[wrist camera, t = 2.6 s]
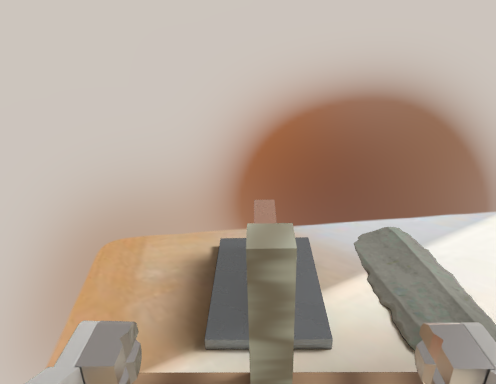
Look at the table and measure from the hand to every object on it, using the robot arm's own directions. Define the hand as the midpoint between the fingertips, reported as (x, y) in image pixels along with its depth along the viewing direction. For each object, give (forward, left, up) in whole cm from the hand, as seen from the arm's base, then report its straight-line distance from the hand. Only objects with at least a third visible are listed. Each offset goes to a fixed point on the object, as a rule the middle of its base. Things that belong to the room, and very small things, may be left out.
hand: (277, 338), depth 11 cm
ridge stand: (-5, -27, -20) cm, 34 cm away
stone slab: (-22, -25, -21) cm, 40 cm away
